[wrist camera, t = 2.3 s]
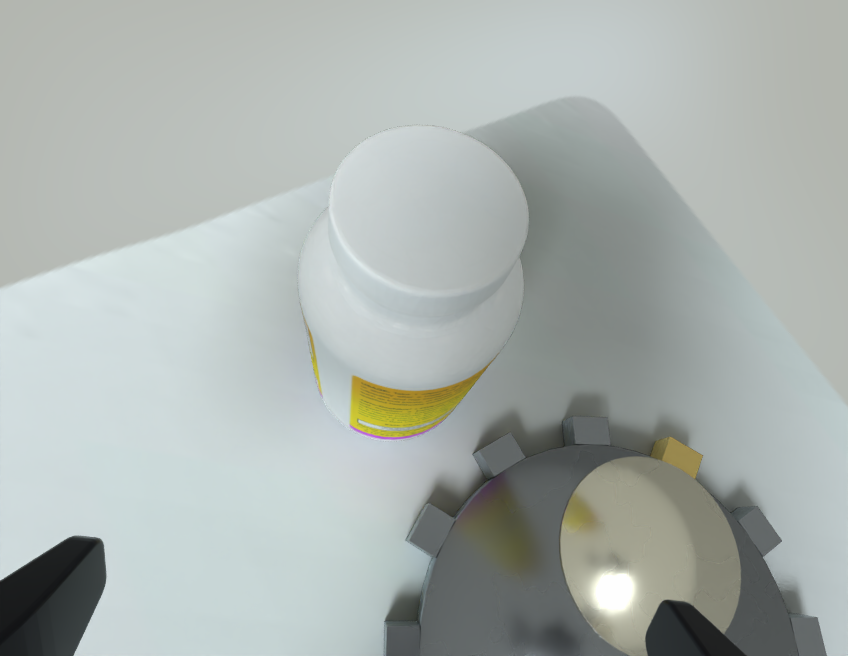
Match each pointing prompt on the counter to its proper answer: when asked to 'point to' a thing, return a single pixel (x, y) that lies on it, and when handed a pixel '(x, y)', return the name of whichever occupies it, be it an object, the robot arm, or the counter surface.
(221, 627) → the counter surface
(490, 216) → the supplement bottle
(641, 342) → the counter surface
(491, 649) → the sprocket plate
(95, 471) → the counter surface
